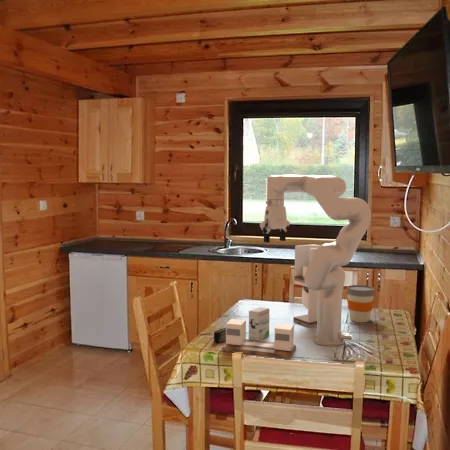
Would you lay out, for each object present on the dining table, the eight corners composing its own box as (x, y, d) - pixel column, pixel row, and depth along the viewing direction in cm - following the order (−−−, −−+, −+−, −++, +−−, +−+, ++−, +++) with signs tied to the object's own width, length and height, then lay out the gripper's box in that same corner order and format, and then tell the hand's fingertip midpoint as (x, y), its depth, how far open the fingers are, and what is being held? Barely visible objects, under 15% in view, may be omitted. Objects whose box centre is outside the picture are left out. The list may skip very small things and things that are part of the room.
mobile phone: (217, 332, 207) (242, 323, 218) (212, 331, 209) (236, 322, 220) (217, 344, 208) (242, 335, 219) (212, 343, 210) (236, 333, 221)
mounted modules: (293, 345, 200) (293, 324, 200) (289, 351, 194) (290, 330, 193) (231, 338, 208) (231, 318, 207) (225, 343, 201) (225, 323, 200)
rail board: (295, 348, 203) (295, 343, 203) (290, 358, 192) (290, 353, 191) (231, 341, 211) (231, 336, 211) (222, 350, 199) (222, 345, 199)
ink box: (260, 333, 222) (260, 306, 220) (269, 336, 218) (270, 308, 217) (247, 338, 215) (248, 310, 214) (257, 341, 212) (258, 312, 211)
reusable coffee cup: (340, 318, 246) (341, 287, 245) (357, 314, 254) (358, 283, 252) (361, 324, 236) (363, 292, 235) (379, 320, 244) (380, 288, 242)
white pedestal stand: (312, 317, 246) (313, 244, 243) (327, 323, 238) (330, 247, 234) (293, 321, 240) (295, 245, 237) (308, 327, 231) (310, 248, 228)
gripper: (266, 204, 224) (266, 243, 226) (295, 203, 235) (294, 241, 236) (255, 203, 230) (254, 242, 232) (283, 202, 240) (282, 239, 242)
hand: (274, 241), depth 234 cm, fingers open, 9 cm apart
